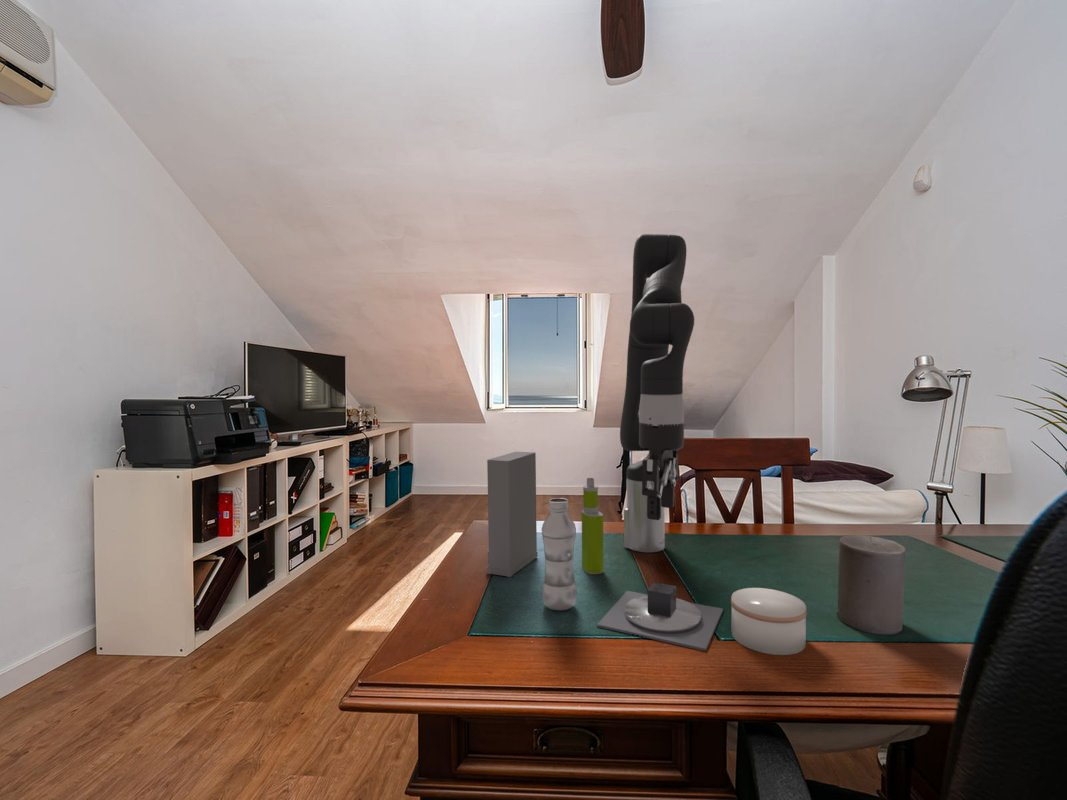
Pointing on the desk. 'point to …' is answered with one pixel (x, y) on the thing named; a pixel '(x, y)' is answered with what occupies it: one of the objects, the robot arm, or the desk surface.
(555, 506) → the plastic bottle
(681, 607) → the lid
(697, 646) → the mat
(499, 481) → the upright grey slab box
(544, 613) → the desk surface
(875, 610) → the pillar candle
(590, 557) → the vape
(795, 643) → the dish
